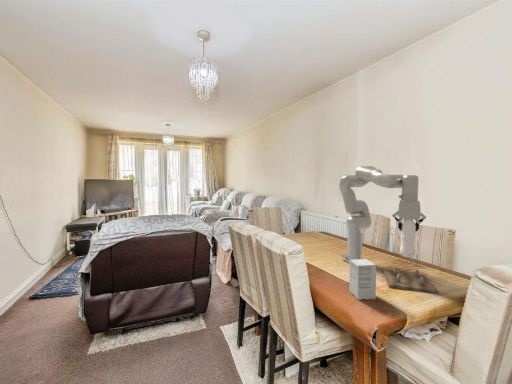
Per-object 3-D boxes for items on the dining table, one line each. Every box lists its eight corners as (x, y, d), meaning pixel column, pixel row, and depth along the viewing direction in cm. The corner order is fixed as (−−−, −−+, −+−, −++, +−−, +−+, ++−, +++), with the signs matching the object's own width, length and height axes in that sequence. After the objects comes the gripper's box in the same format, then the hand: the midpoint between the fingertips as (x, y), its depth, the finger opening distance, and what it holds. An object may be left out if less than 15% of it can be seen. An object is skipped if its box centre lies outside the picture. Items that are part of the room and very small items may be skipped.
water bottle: (396, 254, 142) (398, 210, 140) (409, 254, 143) (410, 210, 141) (405, 258, 135) (406, 212, 133) (417, 258, 136) (419, 212, 134)
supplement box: (376, 299, 121) (377, 265, 120) (357, 300, 120) (358, 265, 119) (365, 290, 130) (366, 258, 129) (348, 291, 130) (349, 259, 129)
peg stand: (389, 287, 134) (389, 277, 133) (383, 272, 154) (383, 263, 154) (438, 293, 126) (438, 283, 126) (425, 277, 147) (425, 267, 146)
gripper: (392, 198, 136) (391, 230, 137) (430, 199, 130) (428, 233, 131) (390, 196, 143) (389, 227, 144) (426, 197, 137) (424, 230, 138)
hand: (408, 230), depth 138 cm, fingers closed on water bottle, 7 cm apart
